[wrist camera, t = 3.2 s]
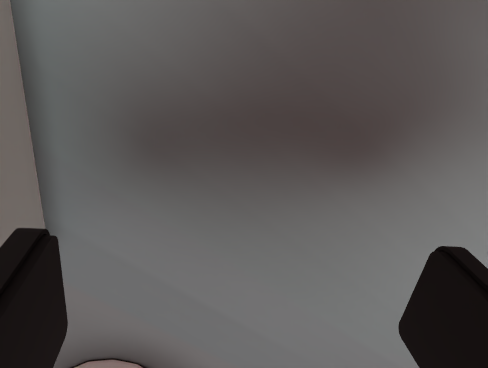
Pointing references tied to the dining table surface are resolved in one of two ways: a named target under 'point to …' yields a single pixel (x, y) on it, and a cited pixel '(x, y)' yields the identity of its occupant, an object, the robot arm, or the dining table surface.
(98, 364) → the pink cup
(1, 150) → the carton
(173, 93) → the dining table surface
